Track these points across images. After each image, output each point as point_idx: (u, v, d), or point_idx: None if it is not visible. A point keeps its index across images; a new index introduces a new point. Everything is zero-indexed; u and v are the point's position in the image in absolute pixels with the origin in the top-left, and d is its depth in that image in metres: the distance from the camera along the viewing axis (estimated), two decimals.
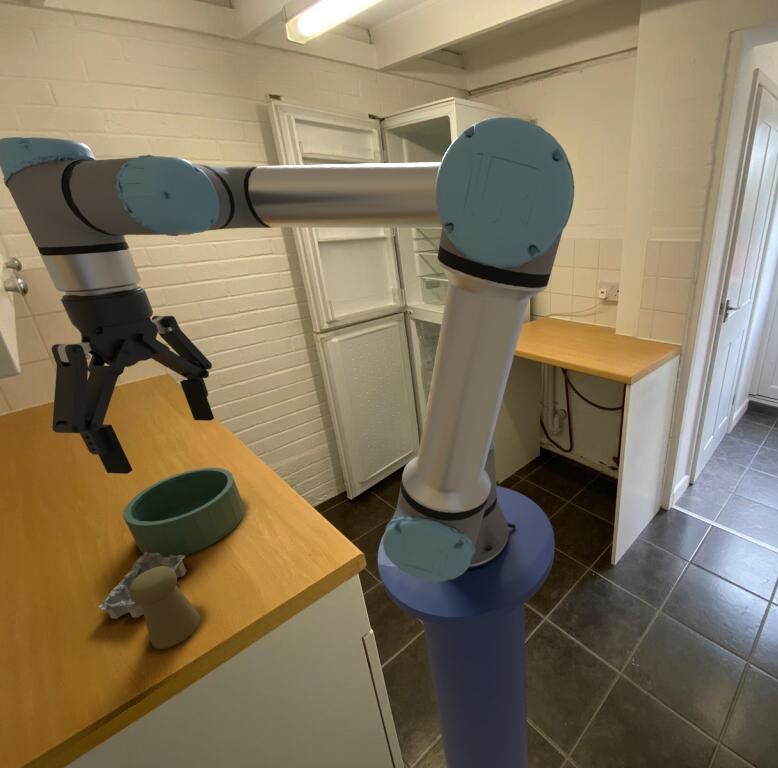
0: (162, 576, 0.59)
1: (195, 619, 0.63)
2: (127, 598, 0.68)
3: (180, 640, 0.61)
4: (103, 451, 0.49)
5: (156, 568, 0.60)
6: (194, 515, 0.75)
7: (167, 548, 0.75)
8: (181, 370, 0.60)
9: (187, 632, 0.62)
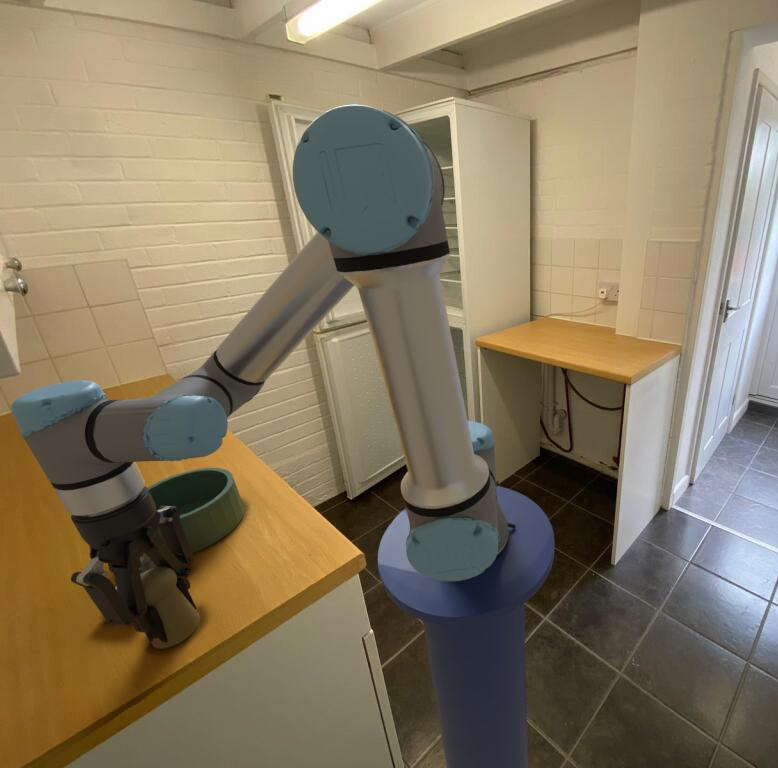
0: (162, 576, 0.59)
1: (195, 619, 0.63)
2: None
3: (180, 640, 0.61)
4: (148, 629, 0.58)
5: (156, 568, 0.60)
6: (194, 515, 0.75)
7: None
8: (166, 566, 0.61)
9: (187, 632, 0.62)
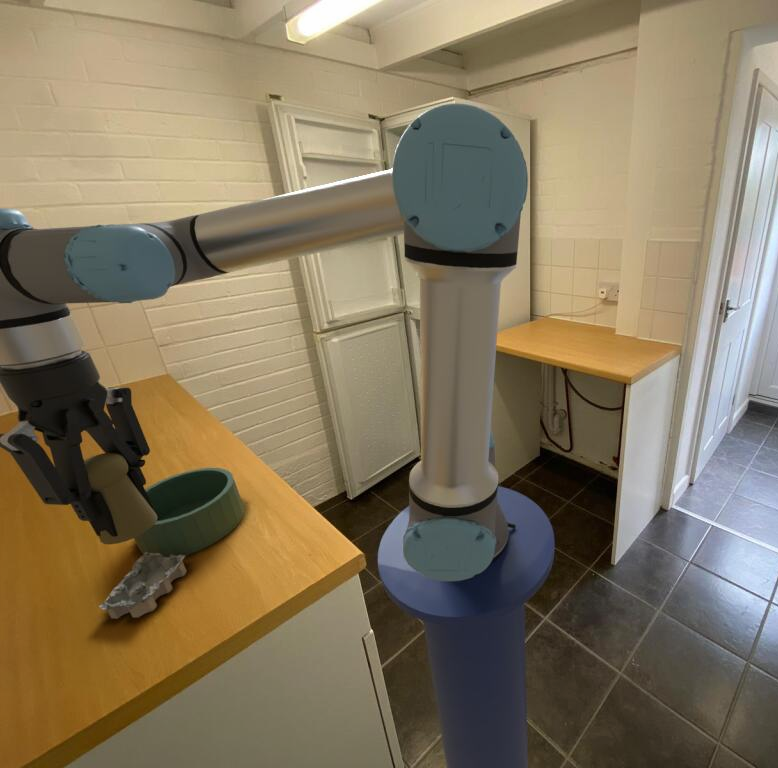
0: (109, 460, 0.52)
1: (151, 517, 0.57)
2: (127, 598, 0.68)
3: (132, 536, 0.55)
4: (92, 518, 0.51)
5: (104, 453, 0.54)
6: (194, 515, 0.75)
7: (167, 548, 0.75)
8: None
9: (141, 528, 0.55)
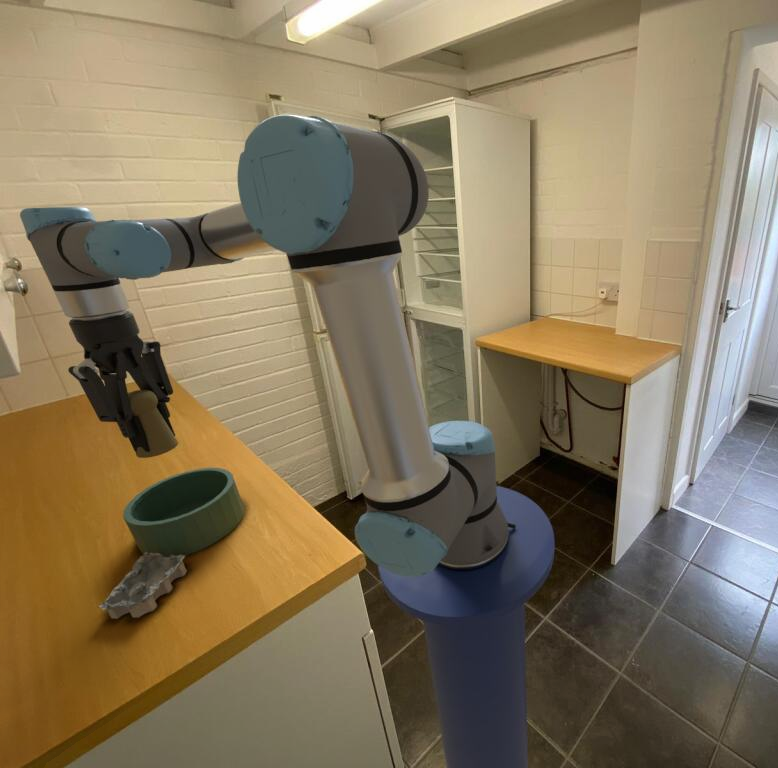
0: (144, 393, 0.70)
1: (173, 440, 0.75)
2: (127, 598, 0.68)
3: (160, 453, 0.73)
4: (132, 435, 0.69)
5: (140, 390, 0.72)
6: (194, 515, 0.75)
7: (167, 548, 0.75)
8: None
9: (166, 448, 0.73)
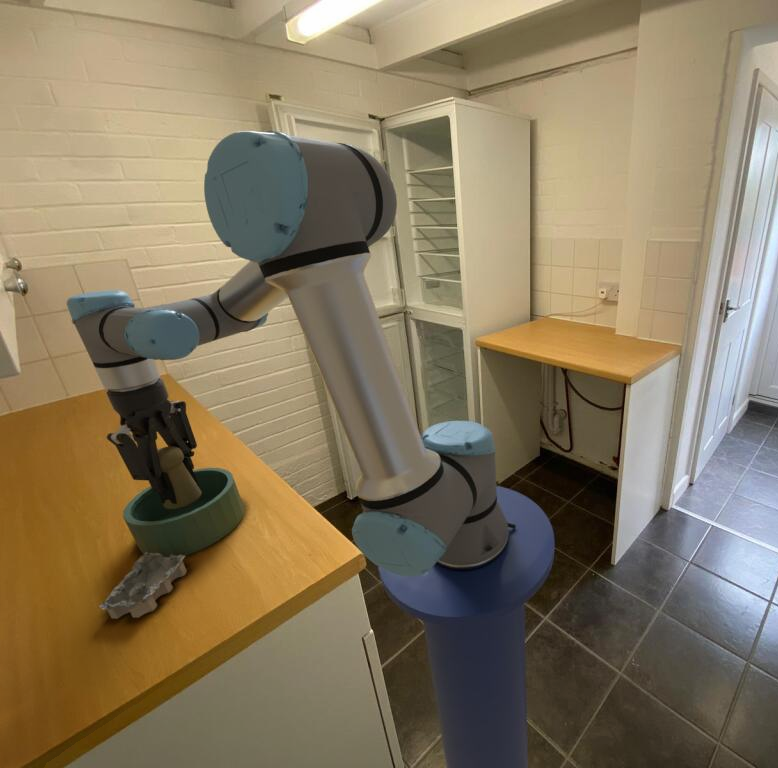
0: (172, 451, 0.77)
1: (197, 491, 0.81)
2: (127, 598, 0.68)
3: (186, 504, 0.79)
4: (162, 490, 0.76)
5: (168, 446, 0.78)
6: (194, 515, 0.75)
7: (167, 548, 0.75)
8: None
9: (191, 499, 0.80)
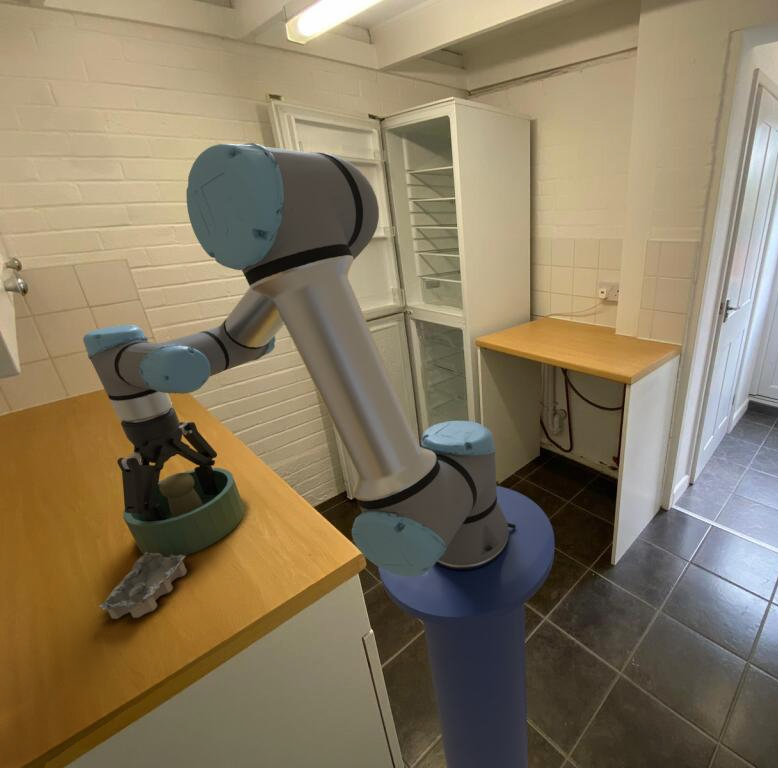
0: (183, 478, 0.79)
1: None
2: (128, 598, 0.68)
3: None
4: None
5: (179, 473, 0.80)
6: (194, 515, 0.75)
7: (167, 548, 0.75)
8: (195, 460, 0.83)
9: None
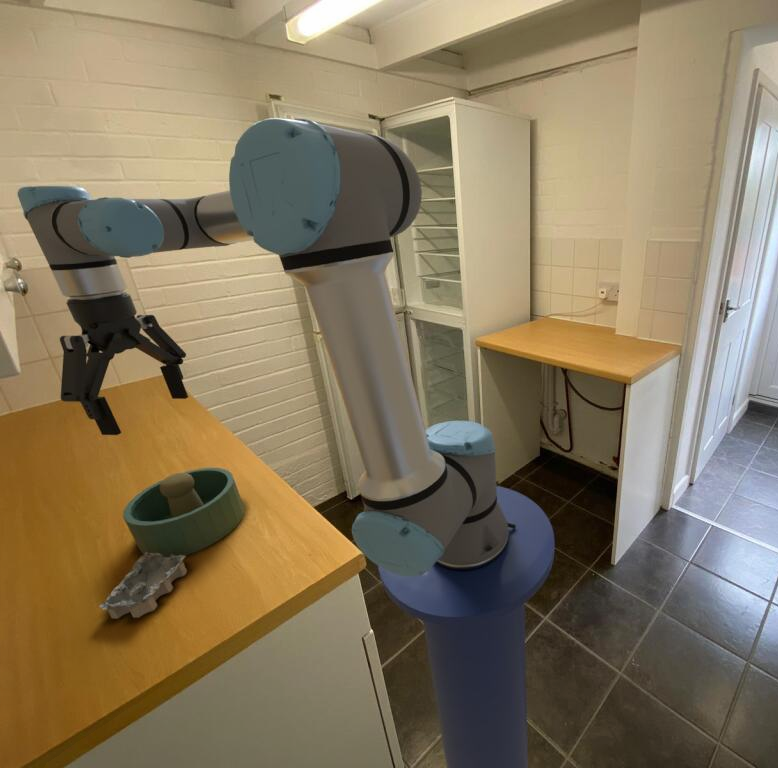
0: (183, 478, 0.79)
1: None
2: (128, 598, 0.68)
3: None
4: (98, 417, 0.65)
5: (179, 473, 0.80)
6: (194, 515, 0.75)
7: (167, 548, 0.75)
8: (160, 358, 0.76)
9: None
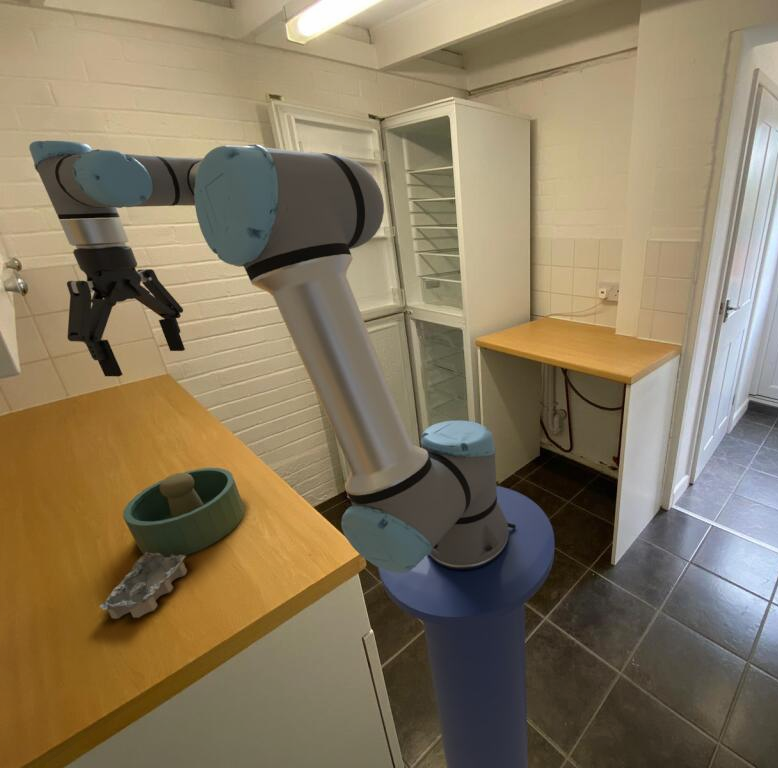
0: (183, 478, 0.79)
1: None
2: (128, 598, 0.68)
3: None
4: (102, 358, 0.71)
5: (179, 473, 0.80)
6: (194, 515, 0.75)
7: (167, 548, 0.75)
8: (159, 310, 0.82)
9: None
